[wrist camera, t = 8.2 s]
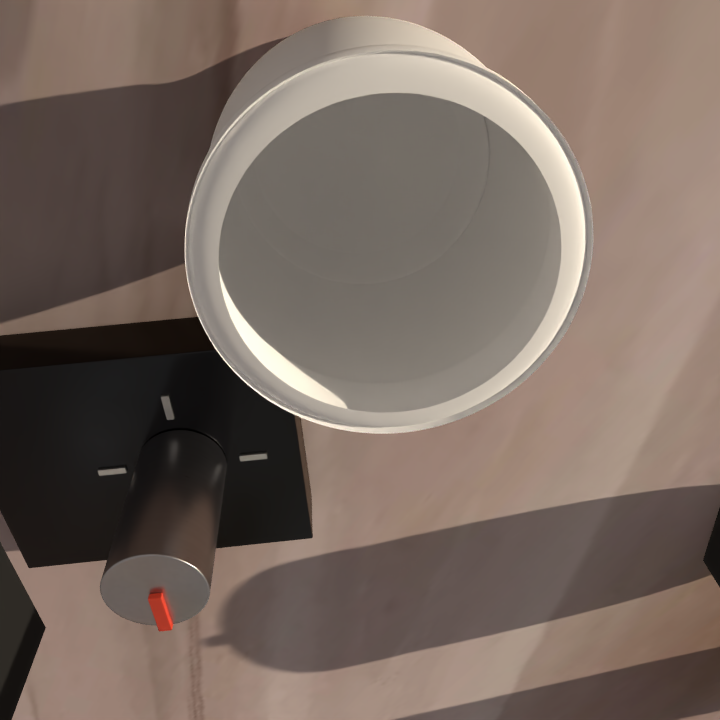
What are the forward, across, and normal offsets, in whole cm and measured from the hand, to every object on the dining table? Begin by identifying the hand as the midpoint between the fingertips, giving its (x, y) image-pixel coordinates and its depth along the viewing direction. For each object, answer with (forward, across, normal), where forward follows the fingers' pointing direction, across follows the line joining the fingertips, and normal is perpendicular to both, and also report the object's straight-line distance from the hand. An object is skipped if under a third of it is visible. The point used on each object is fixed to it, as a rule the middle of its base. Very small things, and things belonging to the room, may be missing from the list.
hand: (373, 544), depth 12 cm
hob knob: (+18, -9, -13) cm, 24 cm away
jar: (+22, +1, +2) cm, 22 cm away
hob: (+22, -11, -13) cm, 27 cm away
